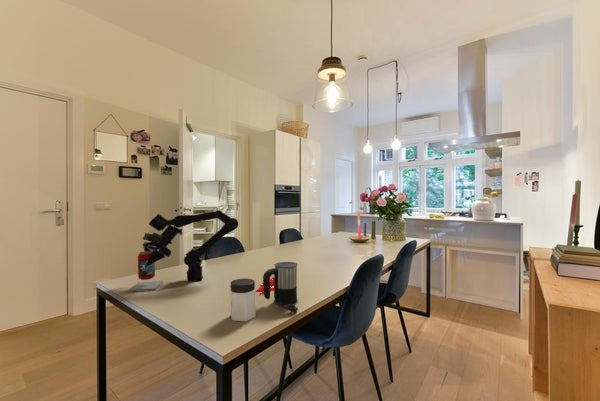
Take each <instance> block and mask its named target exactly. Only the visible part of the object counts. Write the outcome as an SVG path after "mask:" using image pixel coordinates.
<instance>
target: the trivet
mask: <svg viewBox="0 0 600 401" xmlns="http://www.w3.org/2000/svg"><path fill="white" fill-rule="evenodd" d="M163 284H164V281H163V280H158V281H157V280H156V281H155V280H154V281H153V280H151V281H139V282H136V283H135V284H134V285H132V286H131V287H130V288H129V289H128V293H135V292H150V291H151V292H152V291H157V290H158V289H159V288H160V287H161V285H163Z"/></svg>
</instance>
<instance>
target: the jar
mask: <svg viewBox="0 0 600 401" xmlns="http://www.w3.org/2000/svg"><path fill="white" fill-rule="evenodd" d="M255 283H256V282H255V280H254V279H252V278H237V279H233V280H232V281H231V282H230V317H231V321H233V322H247V321H250V320H252V319H254V318H256V289H255V285H256V284H255Z"/></svg>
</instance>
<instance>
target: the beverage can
mask: <svg viewBox="0 0 600 401" xmlns="http://www.w3.org/2000/svg"><path fill="white" fill-rule="evenodd" d="M152 254H153V251H145V252H144V251H140V252H139V254H138V255H137V275H138V276H137V277H138V279H139V280H142V281H147V280H152V279H153V278H154V277H156V266H155V265H156V262H154V263H152V264H151V265H149V266H147V265H146V263H147V262H148V260H149V259H150V257H151V256H152Z"/></svg>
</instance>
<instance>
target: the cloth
mask: <svg viewBox="0 0 600 401" xmlns="http://www.w3.org/2000/svg"><path fill="white" fill-rule="evenodd" d="M272 279H273V280H272ZM261 284H263V282H262V283H261ZM261 284H260V287H259V288H257V289H255V293H256V292H262V293H259V294H260V295H259V296H261V294H262V295H264V288H263V285H261ZM270 286H271V287H272V286H274V276H271V278H270ZM271 287H270V293H272V292H274V288H271ZM271 291H272V292H271Z"/></svg>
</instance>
